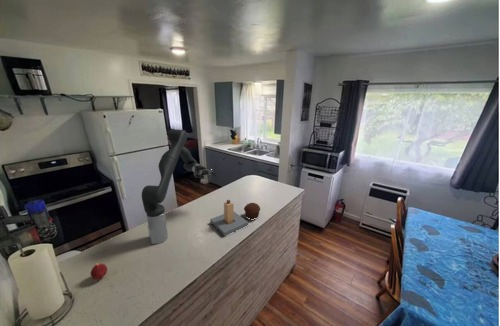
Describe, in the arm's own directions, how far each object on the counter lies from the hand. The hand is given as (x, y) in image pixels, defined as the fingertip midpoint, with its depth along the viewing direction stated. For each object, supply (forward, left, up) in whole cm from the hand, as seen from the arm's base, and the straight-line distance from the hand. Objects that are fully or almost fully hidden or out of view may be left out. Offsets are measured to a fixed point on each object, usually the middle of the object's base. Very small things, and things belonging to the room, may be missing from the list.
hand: (209, 176), depth 128 cm
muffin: (+22, -19, -30) cm, 42 cm away
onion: (-64, -16, -30) cm, 73 cm away
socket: (+4, -17, -30) cm, 35 cm away
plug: (+4, -17, -30) cm, 35 cm away
